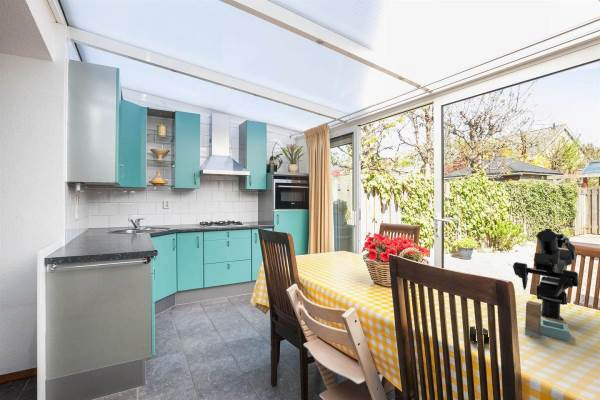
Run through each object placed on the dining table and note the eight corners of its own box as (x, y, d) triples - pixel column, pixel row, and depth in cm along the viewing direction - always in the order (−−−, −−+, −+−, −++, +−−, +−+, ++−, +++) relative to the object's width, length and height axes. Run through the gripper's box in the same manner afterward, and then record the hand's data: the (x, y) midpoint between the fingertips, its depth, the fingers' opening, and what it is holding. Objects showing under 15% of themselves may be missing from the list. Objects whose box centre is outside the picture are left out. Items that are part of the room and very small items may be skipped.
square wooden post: (527, 331, 106) (529, 300, 106) (540, 335, 103) (541, 303, 103) (524, 333, 103) (526, 302, 103) (537, 337, 101) (538, 305, 101)
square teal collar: (538, 326, 110) (538, 318, 110) (566, 332, 106) (567, 324, 105) (538, 333, 104) (538, 324, 104) (568, 340, 99) (569, 332, 99)
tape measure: (463, 335, 101) (464, 324, 101) (485, 337, 100) (486, 326, 100) (471, 345, 94) (471, 333, 94) (495, 347, 93) (495, 335, 93)
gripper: (515, 241, 118) (504, 273, 111) (579, 249, 104) (571, 285, 97) (520, 259, 123) (510, 290, 116) (581, 268, 109) (575, 304, 102)
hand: (539, 292), depth 108 cm, fingers open, 9 cm apart
